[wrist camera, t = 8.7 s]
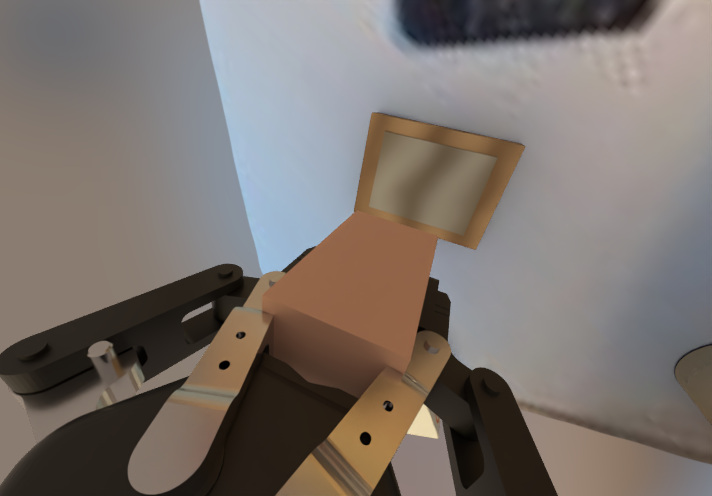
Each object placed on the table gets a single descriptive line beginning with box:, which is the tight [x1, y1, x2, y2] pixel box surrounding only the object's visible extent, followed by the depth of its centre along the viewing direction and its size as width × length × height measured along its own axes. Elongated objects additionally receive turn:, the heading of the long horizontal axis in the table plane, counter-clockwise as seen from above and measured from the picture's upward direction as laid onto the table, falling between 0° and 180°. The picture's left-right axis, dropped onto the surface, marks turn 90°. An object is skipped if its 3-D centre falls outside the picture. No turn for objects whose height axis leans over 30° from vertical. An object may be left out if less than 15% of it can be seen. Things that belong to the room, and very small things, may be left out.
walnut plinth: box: [354, 113, 525, 250], centre depth 31 cm, size 16×12×3 cm
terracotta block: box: [262, 210, 438, 399], centre depth 12 cm, size 4×4×8 cm
